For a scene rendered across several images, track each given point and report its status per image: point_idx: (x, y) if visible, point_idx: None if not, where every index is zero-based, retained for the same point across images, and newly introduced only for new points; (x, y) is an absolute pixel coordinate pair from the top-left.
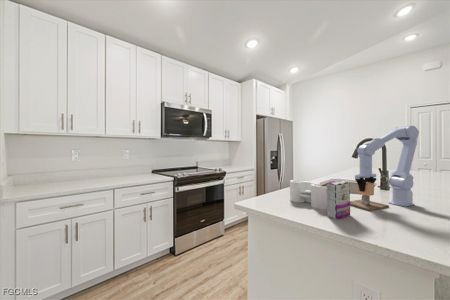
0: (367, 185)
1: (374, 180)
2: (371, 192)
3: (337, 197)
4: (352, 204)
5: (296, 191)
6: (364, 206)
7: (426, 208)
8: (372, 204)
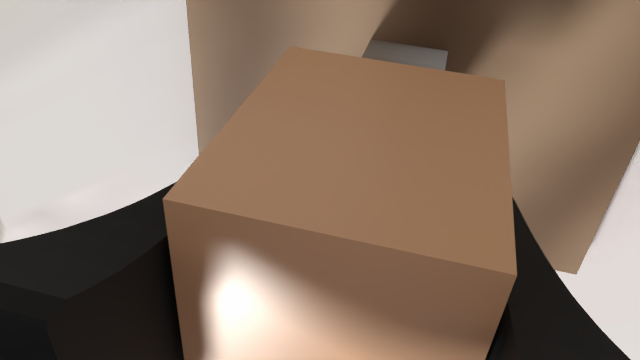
0: (512, 240)
1: (57, 266)
2: (361, 86)
3: None
4: (618, 169)
5: None
6: (600, 15)
7: None
8: (354, 4)
